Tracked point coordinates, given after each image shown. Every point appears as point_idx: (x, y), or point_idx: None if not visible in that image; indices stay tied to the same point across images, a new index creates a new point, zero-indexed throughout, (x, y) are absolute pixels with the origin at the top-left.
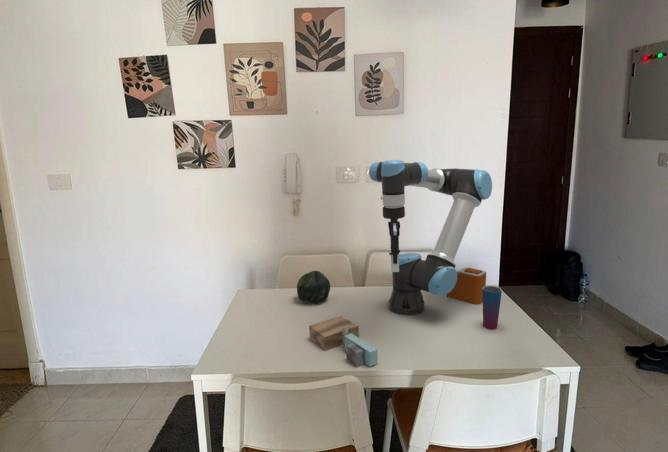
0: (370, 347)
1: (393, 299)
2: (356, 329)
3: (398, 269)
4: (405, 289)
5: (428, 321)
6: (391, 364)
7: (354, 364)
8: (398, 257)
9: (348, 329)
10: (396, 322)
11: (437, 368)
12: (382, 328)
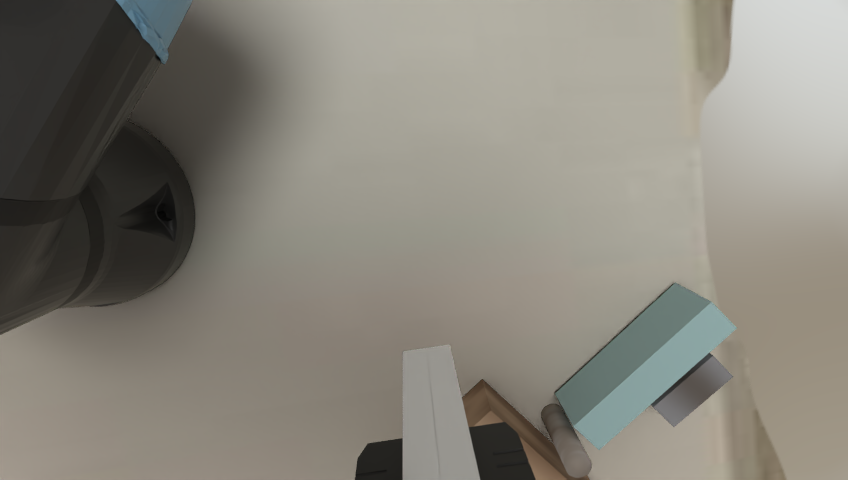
0: (696, 331)
1: (124, 287)
2: (496, 410)
3: (452, 364)
4: (87, 232)
5: (245, 90)
6: (668, 231)
7: None
8: (476, 464)
9: (528, 444)
10: (290, 243)
11: (686, 48)
12: (365, 298)
